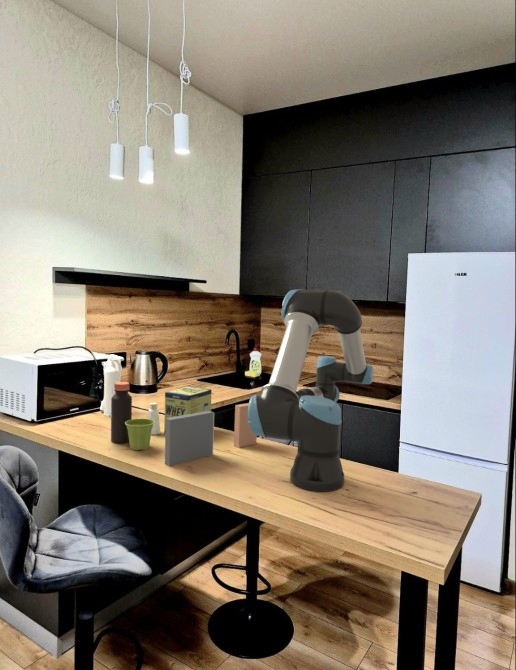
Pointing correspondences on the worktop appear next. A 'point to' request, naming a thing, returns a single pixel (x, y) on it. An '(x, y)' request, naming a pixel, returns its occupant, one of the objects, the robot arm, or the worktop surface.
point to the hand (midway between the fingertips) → (269, 404)
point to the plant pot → (139, 433)
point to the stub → (243, 427)
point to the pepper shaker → (154, 418)
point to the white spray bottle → (110, 382)
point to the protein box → (186, 402)
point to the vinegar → (120, 412)
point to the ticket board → (189, 437)
